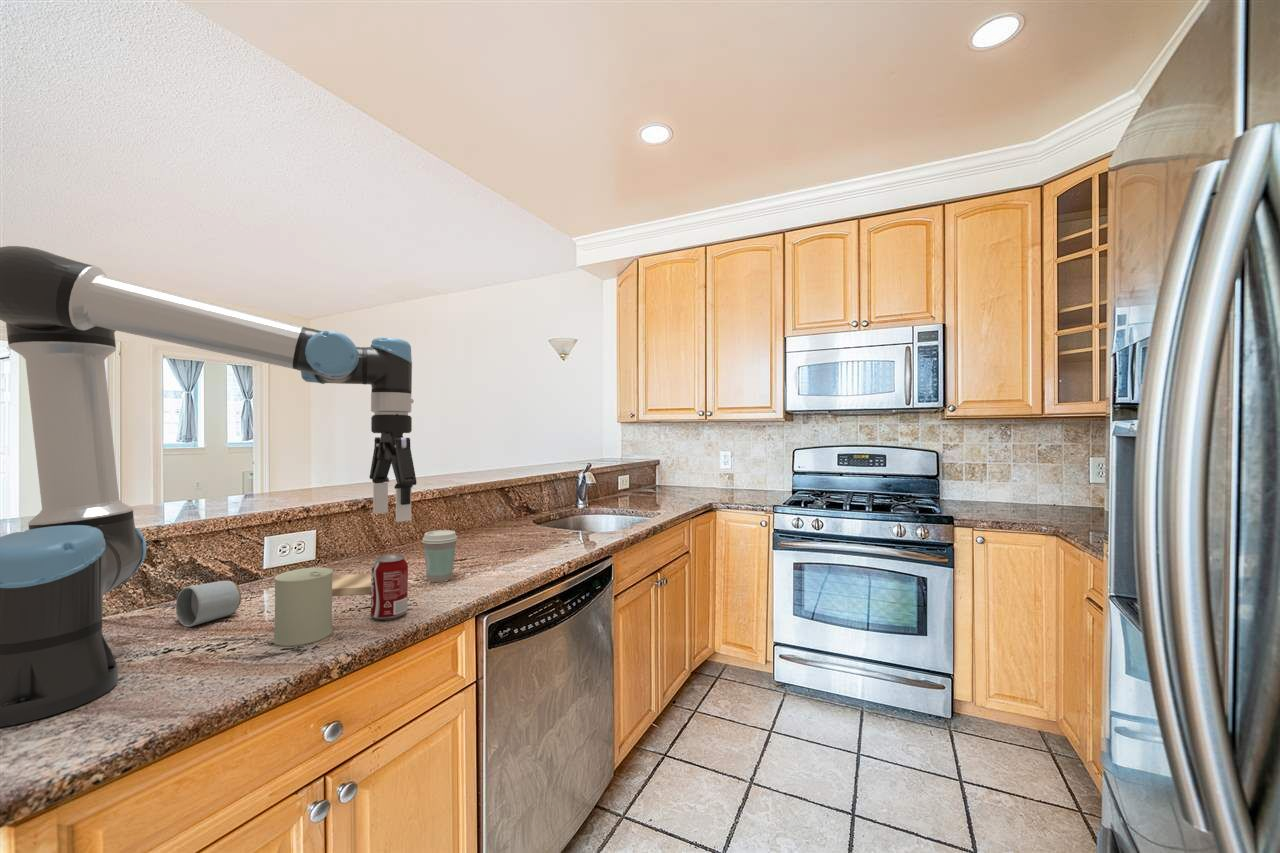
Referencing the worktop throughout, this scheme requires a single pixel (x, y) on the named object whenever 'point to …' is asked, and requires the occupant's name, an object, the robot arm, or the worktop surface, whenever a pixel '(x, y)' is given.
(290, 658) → the worktop surface
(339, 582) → the cutting board
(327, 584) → the can
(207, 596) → the grey hollow cylinder
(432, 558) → the coffee cup
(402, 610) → the soda can
